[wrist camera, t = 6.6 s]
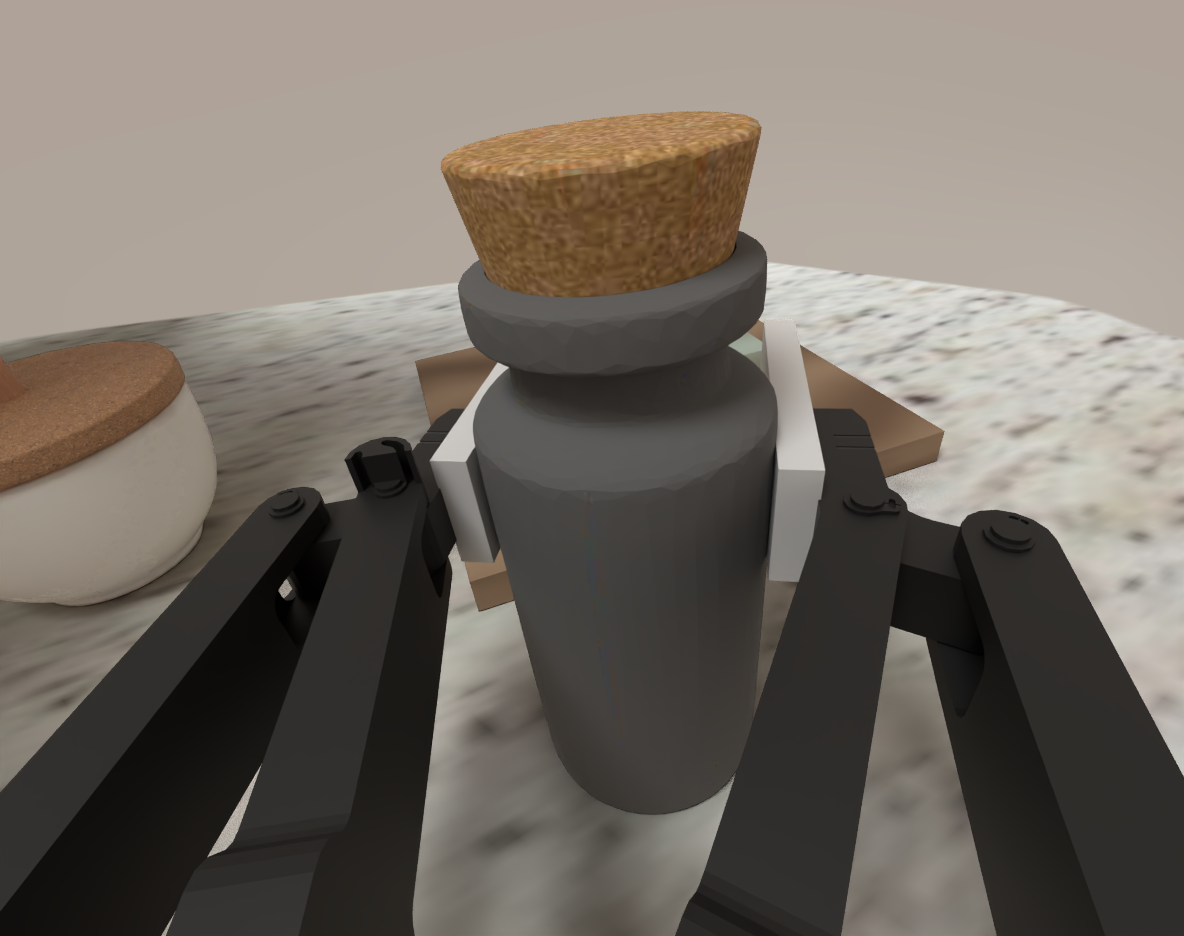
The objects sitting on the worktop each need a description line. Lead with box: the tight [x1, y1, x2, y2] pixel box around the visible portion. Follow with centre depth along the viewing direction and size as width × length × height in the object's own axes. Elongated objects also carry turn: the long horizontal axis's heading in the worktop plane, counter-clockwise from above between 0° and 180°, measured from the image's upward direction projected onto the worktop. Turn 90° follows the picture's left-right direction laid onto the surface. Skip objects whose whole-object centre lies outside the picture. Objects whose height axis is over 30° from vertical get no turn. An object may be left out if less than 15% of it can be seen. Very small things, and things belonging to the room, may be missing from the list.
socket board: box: [415, 320, 944, 611], centre depth 30 cm, size 20×20×4 cm
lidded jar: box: [0, 341, 217, 606], centre depth 24 cm, size 11×11×9 cm
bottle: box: [441, 112, 778, 814], centre depth 13 cm, size 6×6×15 cm
